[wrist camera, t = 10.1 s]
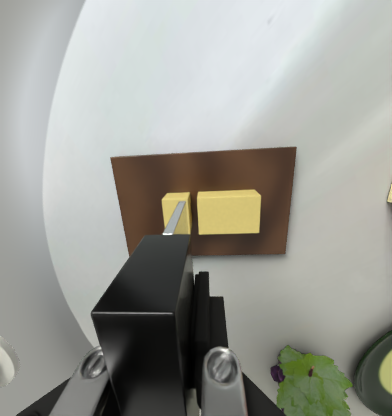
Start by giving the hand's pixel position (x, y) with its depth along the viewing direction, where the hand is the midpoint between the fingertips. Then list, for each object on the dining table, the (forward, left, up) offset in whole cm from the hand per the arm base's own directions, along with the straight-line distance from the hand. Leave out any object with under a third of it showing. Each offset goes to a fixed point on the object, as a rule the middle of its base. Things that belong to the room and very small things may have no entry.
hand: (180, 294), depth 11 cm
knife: (0, 0, -4) cm, 4 cm away
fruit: (+16, -30, -16) cm, 37 cm away
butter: (+4, 0, -15) cm, 15 cm away
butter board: (+1, 0, -16) cm, 16 cm away
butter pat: (-2, 0, -14) cm, 15 cm away
